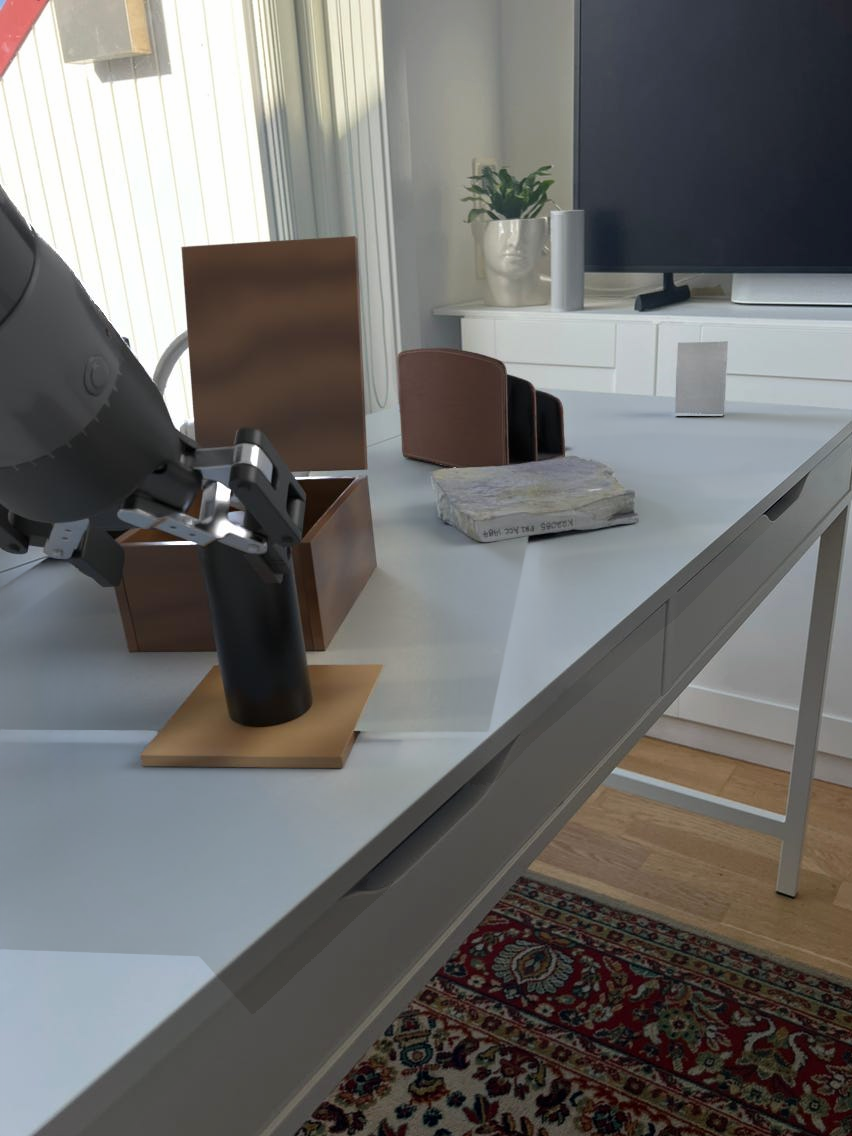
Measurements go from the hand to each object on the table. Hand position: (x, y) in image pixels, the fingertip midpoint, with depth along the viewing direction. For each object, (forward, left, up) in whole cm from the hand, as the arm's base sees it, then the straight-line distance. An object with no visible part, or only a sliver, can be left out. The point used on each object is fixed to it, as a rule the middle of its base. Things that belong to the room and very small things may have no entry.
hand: (195, 568), depth 48 cm
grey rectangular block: (+35, +97, -13) cm, 104 cm away
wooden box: (-6, +24, -13) cm, 28 cm away
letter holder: (+6, +73, -13) cm, 75 cm away
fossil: (+14, +50, -13) cm, 54 cm away
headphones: (-18, +58, -13) cm, 63 cm away
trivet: (0, +7, -13) cm, 15 cm away
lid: (-6, +35, +6) cm, 36 cm away
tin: (0, +7, -12) cm, 14 cm away
